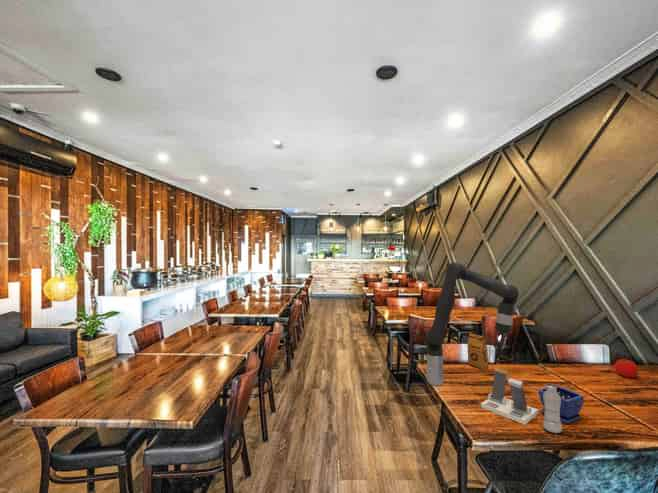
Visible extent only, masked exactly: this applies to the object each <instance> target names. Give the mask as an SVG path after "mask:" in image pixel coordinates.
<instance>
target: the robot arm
mask: <svg viewBox="0 0 658 493" xmlns="http://www.w3.org/2000/svg"><path fill="white" fill-rule="evenodd" d="M457 280H463V281H467V282H469V283H470V282H471V283H473V284H474V285H476V286H478V287H479V288H481V289H484V290H487V291H489V292H492V293H493V294H495V295H496V296H499V297H501V298H502V301H501V302H499V303H498V306H497V313H496V316H495V323H494V330H495V331H497V332H498V334H496V340H495V341H496V349H497V351H496V356H498V357H502V356H503V353H504V352H503V351H504V348H505V345H506V343H507V342H506V341H507V339H508V336H507V334H508V335H509V334H512V330H513V323H514V322H513V321H514V309H515V306H516V303H517V301H518V299H519V289H518V288H517V287H516V286H515V285H513V284H505V283H503V282H500V281H499V280H498V279H495V278H493V277H490V276H487V275H485V274H481V273H478V272H475V271H473V270H471V269H470V268H468V267H466V266H465V265H464V264H462V263H459V262H451V263H449V264H448V265H447V267H446V271H445V276H444V281H443V284H442V288H441V290H440V291H441V292H440V294H439V296H438V299H437V302H436V306H435V314H434V321H433V324H432V326H430V327H428V329H427V330H426V334H425V338H426V340H425V341H426V343H425V344H426V359H427V360H426V366H425V370H426V375H425V376H426V382H427V383H428V384H429V385H433V386H442V385H444V350H443V341H444V337H445V333H446V328H447V324H448V322H449V319H450V317H451V315H452V311H453V309H454V305H455V301H456V293H455V286H456V283H457Z"/></svg>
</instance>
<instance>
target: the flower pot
mask: <svg viewBox="0 0 658 493" xmlns="http://www.w3.org/2000/svg"><path fill="white" fill-rule="evenodd" d="M556 387H557V391H556V392H557V393H558V394H559V396H560V398H561V404H560V421H561V423H563V424H566V425H567V424H570V423H572V422H574V421H577V420H579V419H580V418H581V417H582V415H581V414H579V413H580V412H581V410H582V408H583V405H584V400H585V397H584V395H583V394H581V393H579V392H575V391H572V390H571V389H568V388H565V387H562V386H559V385H556ZM546 390H547V389H546V386H545V387H542V388H540V389H539V390H538V396H539V400H540V403H541V404H542V406H543V408H542V409H541V412H542V413H543V414H544V415H545V407H544V400H543V393H544V392H545V391H546Z"/></svg>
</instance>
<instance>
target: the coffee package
mask: <svg viewBox="0 0 658 493" xmlns="http://www.w3.org/2000/svg"><path fill="white" fill-rule="evenodd" d="M466 346H467V364H468V365H470V366H472V367H475V368H477V369H481V370H486V369H488V368H489V356H488V347H487V342H486V339H485V336H484V335H483V336H482V335H478V334H476V333H469V334H468V341H467V345H466Z"/></svg>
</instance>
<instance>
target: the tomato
mask: <svg viewBox="0 0 658 493" xmlns="http://www.w3.org/2000/svg"><path fill="white" fill-rule="evenodd" d="M614 369H615V371H616V372H617V374H618V375H620V376H621V377H625V378H629V379H630V378H636V377H637V376H638V375H639V374H638V373H639V367H638V366H637V364H636V363H635V362H634V361H632V360H630V359H625V358H621V359H618V360H616V362H614Z"/></svg>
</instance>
